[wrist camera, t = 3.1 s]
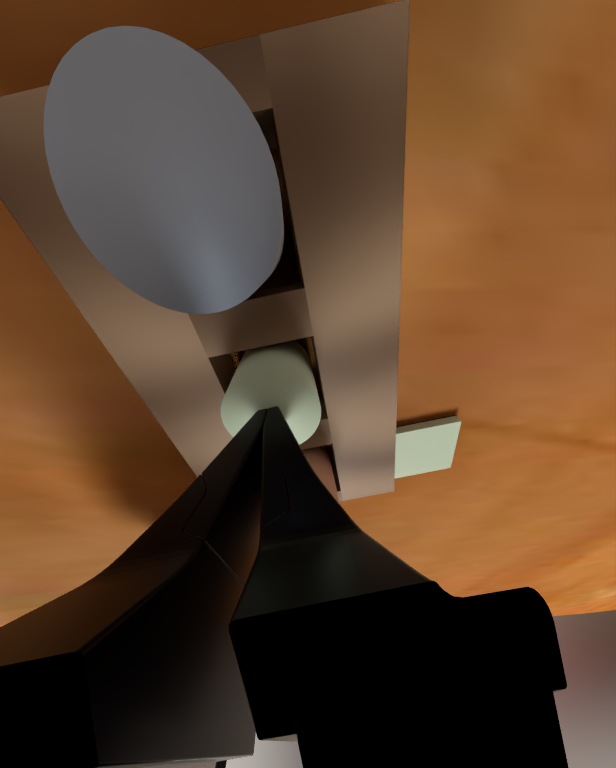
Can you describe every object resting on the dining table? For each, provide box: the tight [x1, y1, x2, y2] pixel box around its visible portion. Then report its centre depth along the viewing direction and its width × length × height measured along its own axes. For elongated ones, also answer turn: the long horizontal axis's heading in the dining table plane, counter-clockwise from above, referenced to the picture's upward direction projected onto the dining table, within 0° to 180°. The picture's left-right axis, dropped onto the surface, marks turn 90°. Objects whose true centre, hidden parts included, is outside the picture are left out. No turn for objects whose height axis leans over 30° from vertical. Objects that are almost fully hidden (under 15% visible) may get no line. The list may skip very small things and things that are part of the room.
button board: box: [0, 0, 410, 502], centre depth 11 cm, size 20×12×2 cm, turn 11°
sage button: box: [221, 340, 321, 445], centre depth 11 cm, size 4×4×4 cm
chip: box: [395, 416, 461, 478], centre depth 17 cm, size 5×5×1 cm
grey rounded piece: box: [44, 25, 284, 314], centre depth 6 cm, size 4×4×4 cm
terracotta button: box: [302, 447, 340, 504], centre depth 13 cm, size 4×4×4 cm
